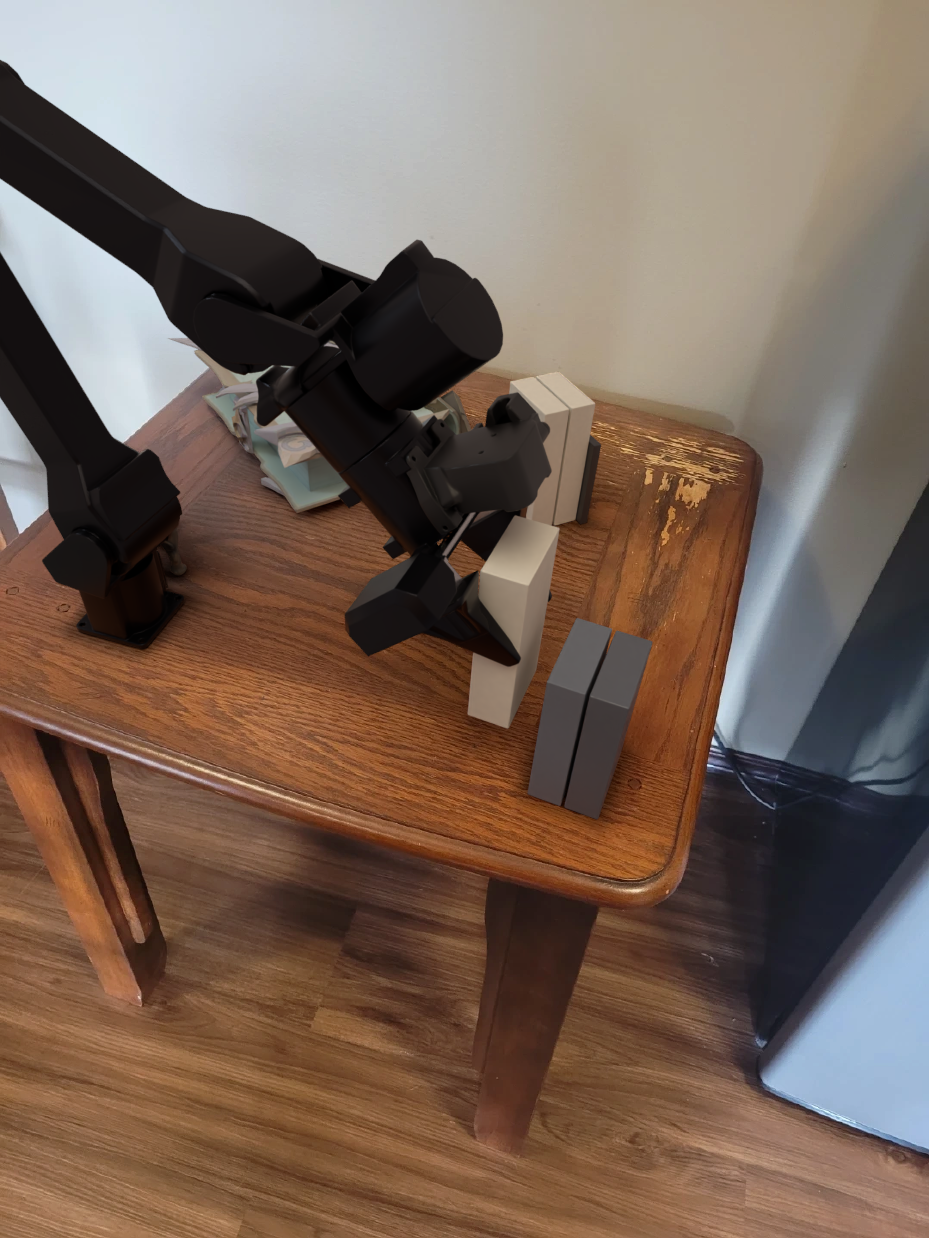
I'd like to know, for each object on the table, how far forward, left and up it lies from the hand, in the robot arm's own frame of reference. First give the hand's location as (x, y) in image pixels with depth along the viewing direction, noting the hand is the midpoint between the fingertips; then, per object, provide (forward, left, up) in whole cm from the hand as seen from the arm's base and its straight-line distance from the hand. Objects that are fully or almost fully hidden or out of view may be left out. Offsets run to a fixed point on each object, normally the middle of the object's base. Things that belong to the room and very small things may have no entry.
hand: (531, 631), depth 55 cm
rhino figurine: (+12, +39, -13) cm, 43 cm away
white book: (0, +1, -7) cm, 7 cm away
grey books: (-1, -5, -12) cm, 13 cm away
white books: (+31, +5, -12) cm, 33 cm away
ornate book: (+35, +31, -13) cm, 48 cm away
